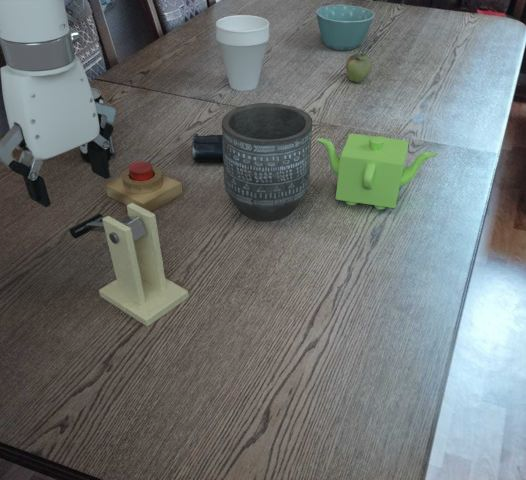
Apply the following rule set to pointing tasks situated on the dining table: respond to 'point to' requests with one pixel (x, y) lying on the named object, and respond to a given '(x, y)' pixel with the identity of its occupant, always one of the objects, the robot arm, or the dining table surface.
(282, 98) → the dining table surface
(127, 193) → the button block
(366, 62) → the apple
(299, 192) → the planter
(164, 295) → the switch bracket
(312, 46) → the dining table surface
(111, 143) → the beverage can
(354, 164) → the teapot
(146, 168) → the button
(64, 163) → the dining table surface
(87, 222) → the switch lever
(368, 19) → the bowl
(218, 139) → the electronic device
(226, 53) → the cup
